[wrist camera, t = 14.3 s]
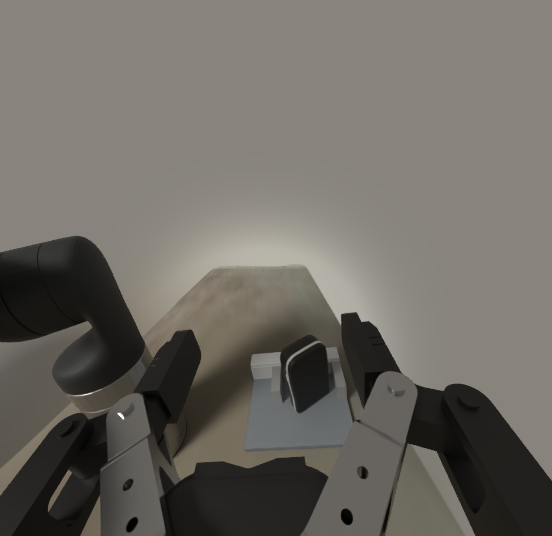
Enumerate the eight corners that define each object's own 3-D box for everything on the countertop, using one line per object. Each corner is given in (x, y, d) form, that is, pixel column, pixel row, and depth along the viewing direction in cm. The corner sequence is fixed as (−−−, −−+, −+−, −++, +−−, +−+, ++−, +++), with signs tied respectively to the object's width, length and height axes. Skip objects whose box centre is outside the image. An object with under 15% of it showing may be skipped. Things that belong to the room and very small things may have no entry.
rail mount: (245, 451, 34) (238, 434, 32) (256, 368, 47) (252, 353, 45) (358, 446, 32) (357, 428, 30) (337, 361, 45) (336, 346, 43)
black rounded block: (317, 376, 42) (311, 327, 37) (331, 392, 39) (327, 340, 34) (284, 398, 40) (274, 348, 35) (297, 416, 36) (287, 364, 32)
